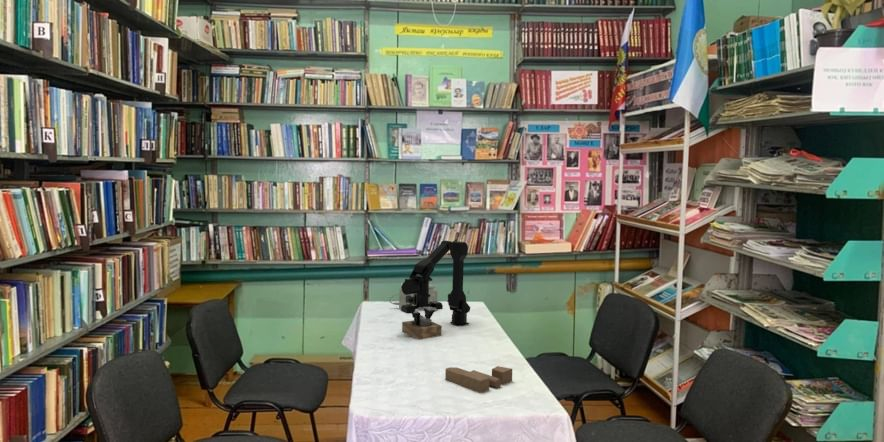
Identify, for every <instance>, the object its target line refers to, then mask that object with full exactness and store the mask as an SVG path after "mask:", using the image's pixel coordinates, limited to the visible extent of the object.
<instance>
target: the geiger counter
mask: <svg viewBox="0 0 884 442" xmlns="http://www.w3.org/2000/svg"><path fill="white" fill-rule="evenodd" d="M403 283H404V282H401V284H400V288H399V293H397V294H393V295H392V296H391V297H390V298H389V303H390V304H392V305H395V306H398V309H399V311H401V307H402V305H407V304H410V303H406V296H408V295H411V297H414V294H408V295H405V294H404V293H403V292H402V288H401V286H402V284H403ZM429 294H430V297H429V302H431V301H438V289H437V287H436V286H435V285H434V284H429ZM395 296H398V302H397V301H396V302H392V301H391V299H393V297H395ZM412 306H416V305H413V304H412ZM434 310H435V311H436V312H437V311H438V310H437V309H436V308H434ZM419 311H420V312H422V311H424V309H419ZM419 311H418V312H419Z"/></svg>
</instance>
